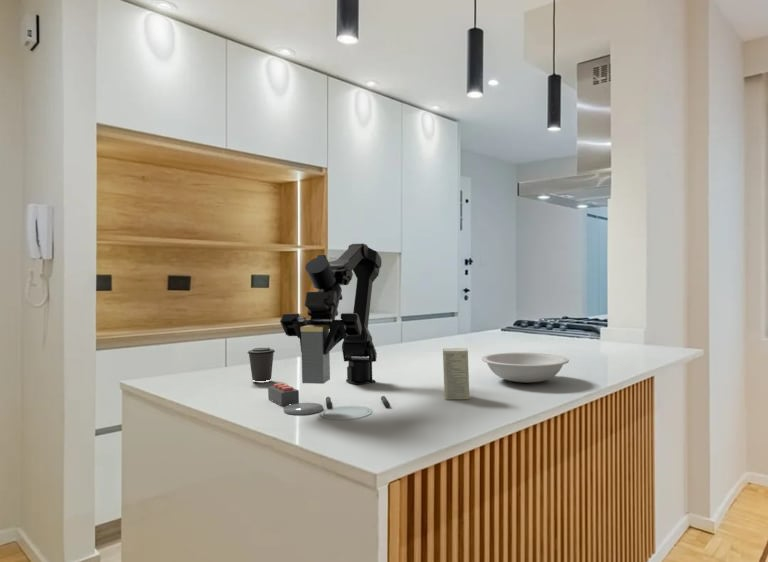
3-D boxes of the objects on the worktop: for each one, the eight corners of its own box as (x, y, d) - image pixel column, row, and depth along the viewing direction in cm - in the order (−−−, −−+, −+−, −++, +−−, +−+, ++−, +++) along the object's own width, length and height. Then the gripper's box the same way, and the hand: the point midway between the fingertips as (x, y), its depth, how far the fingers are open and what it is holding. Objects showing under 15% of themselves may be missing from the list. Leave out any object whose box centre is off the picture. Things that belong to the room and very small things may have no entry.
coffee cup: (281, 380, 157) (280, 347, 157) (261, 385, 150) (260, 350, 150) (262, 378, 161) (261, 345, 161) (241, 382, 154) (241, 349, 154)
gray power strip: (268, 399, 132) (268, 383, 132) (284, 396, 135) (284, 381, 135) (281, 406, 125) (281, 389, 125) (298, 403, 127) (298, 387, 127)
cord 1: (325, 401, 129) (325, 396, 129) (330, 401, 129) (330, 396, 129) (326, 408, 122) (326, 403, 122) (331, 408, 122) (331, 403, 122)
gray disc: (312, 403, 127) (312, 400, 127) (329, 410, 119) (329, 408, 119) (277, 408, 122) (277, 406, 122) (292, 417, 115) (292, 414, 115)
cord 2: (380, 400, 128) (380, 396, 128) (385, 400, 128) (385, 395, 128) (384, 407, 121) (384, 402, 121) (389, 407, 122) (389, 402, 122)
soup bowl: (465, 379, 154) (464, 356, 154) (525, 371, 166) (524, 350, 166) (524, 394, 133) (523, 368, 133) (587, 383, 145) (587, 359, 145)
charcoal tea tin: (309, 378, 123) (308, 324, 123) (330, 379, 122) (329, 324, 122) (301, 383, 118) (300, 327, 118) (323, 383, 117) (322, 327, 117)
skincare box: (468, 395, 132) (467, 347, 132) (469, 400, 128) (468, 350, 128) (443, 395, 133) (442, 348, 133) (443, 399, 128) (442, 350, 128)
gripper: (282, 280, 125) (264, 331, 115) (357, 278, 122) (346, 331, 111) (294, 310, 133) (278, 360, 122) (366, 310, 129) (356, 361, 119)
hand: (313, 353), depth 118 cm, fingers closed on charcoal tea tin, 5 cm apart
